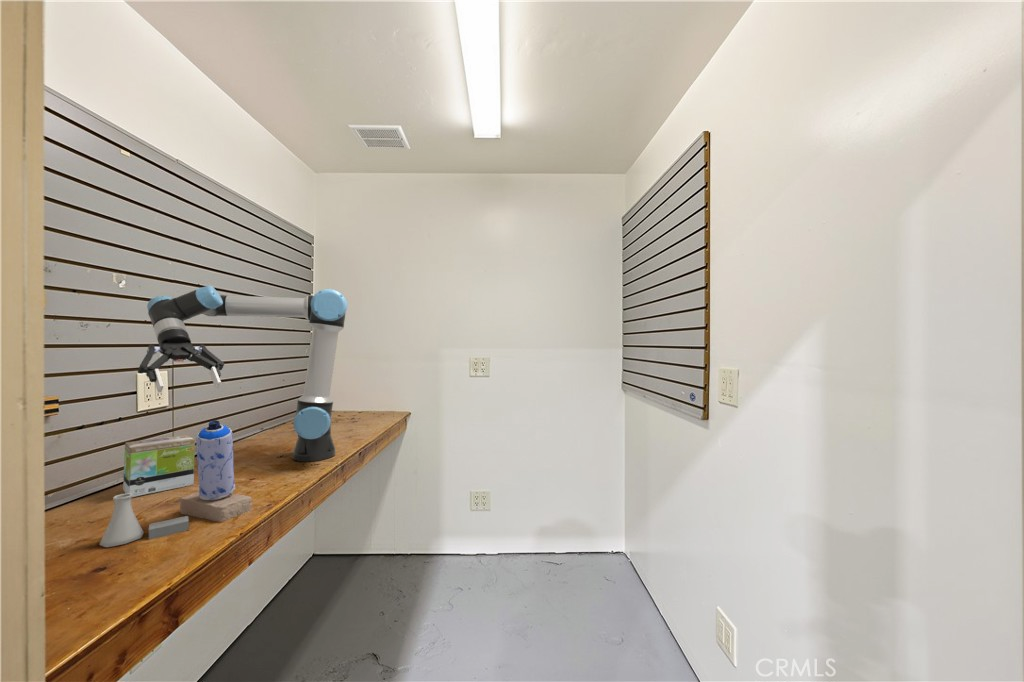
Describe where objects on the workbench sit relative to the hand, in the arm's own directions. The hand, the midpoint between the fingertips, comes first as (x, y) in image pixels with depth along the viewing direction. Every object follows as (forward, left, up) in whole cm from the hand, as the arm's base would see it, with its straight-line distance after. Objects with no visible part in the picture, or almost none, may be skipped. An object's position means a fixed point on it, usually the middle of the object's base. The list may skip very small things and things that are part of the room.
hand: (191, 387), depth 115 cm
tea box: (+8, -14, -32) cm, 36 cm away
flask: (+11, +24, -32) cm, 41 cm away
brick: (-6, +17, -32) cm, 37 cm away
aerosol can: (-6, +17, -27) cm, 32 cm away
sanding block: (+3, +25, -32) cm, 41 cm away
